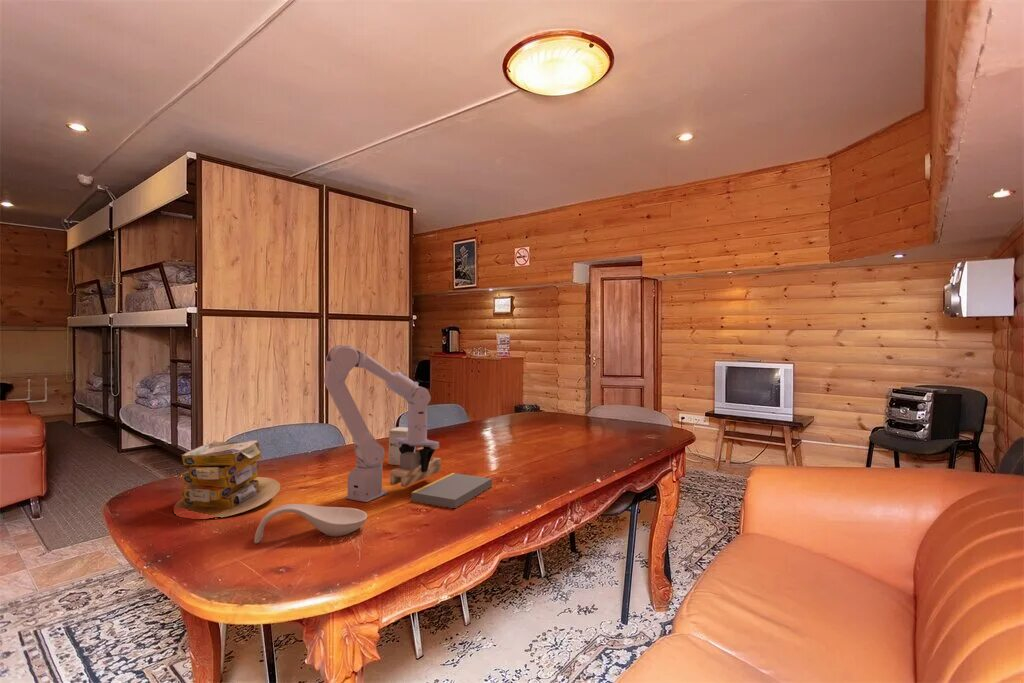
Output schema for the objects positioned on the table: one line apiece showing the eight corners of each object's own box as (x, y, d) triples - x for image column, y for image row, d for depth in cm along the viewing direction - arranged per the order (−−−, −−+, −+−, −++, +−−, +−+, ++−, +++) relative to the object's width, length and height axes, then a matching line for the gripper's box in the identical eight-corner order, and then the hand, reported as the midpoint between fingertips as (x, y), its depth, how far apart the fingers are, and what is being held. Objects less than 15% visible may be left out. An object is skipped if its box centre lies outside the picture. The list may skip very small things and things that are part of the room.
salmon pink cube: (426, 463, 146) (426, 450, 146) (415, 462, 147) (415, 449, 147) (433, 460, 149) (433, 448, 149) (422, 459, 151) (422, 446, 151)
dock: (454, 509, 127) (454, 499, 127) (411, 501, 132) (411, 491, 132) (491, 486, 147) (491, 478, 147) (452, 480, 152) (452, 472, 152)
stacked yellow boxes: (218, 526, 113) (219, 456, 113) (150, 511, 122) (151, 446, 122) (299, 495, 136) (300, 437, 136) (236, 485, 145) (237, 430, 145)
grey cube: (410, 469, 139) (411, 455, 139) (399, 467, 140) (399, 454, 140) (419, 466, 142) (419, 453, 142) (408, 464, 144) (408, 451, 144)
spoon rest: (365, 519, 119) (365, 490, 119) (369, 537, 108) (369, 506, 108) (258, 532, 110) (259, 501, 110) (251, 553, 99) (251, 518, 99)
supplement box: (387, 464, 171) (388, 429, 171) (398, 460, 178) (398, 426, 178) (406, 466, 169) (406, 431, 169) (416, 461, 176) (416, 427, 176)
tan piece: (404, 486, 135) (404, 472, 135) (390, 484, 137) (390, 470, 137) (440, 471, 152) (441, 458, 152) (427, 469, 155) (427, 456, 155)
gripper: (444, 425, 146) (444, 470, 145) (405, 421, 151) (405, 464, 151) (432, 429, 139) (431, 475, 139) (391, 425, 145) (391, 469, 145)
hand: (416, 470), depth 145 cm, fingers closed on tan piece, 5 cm apart
